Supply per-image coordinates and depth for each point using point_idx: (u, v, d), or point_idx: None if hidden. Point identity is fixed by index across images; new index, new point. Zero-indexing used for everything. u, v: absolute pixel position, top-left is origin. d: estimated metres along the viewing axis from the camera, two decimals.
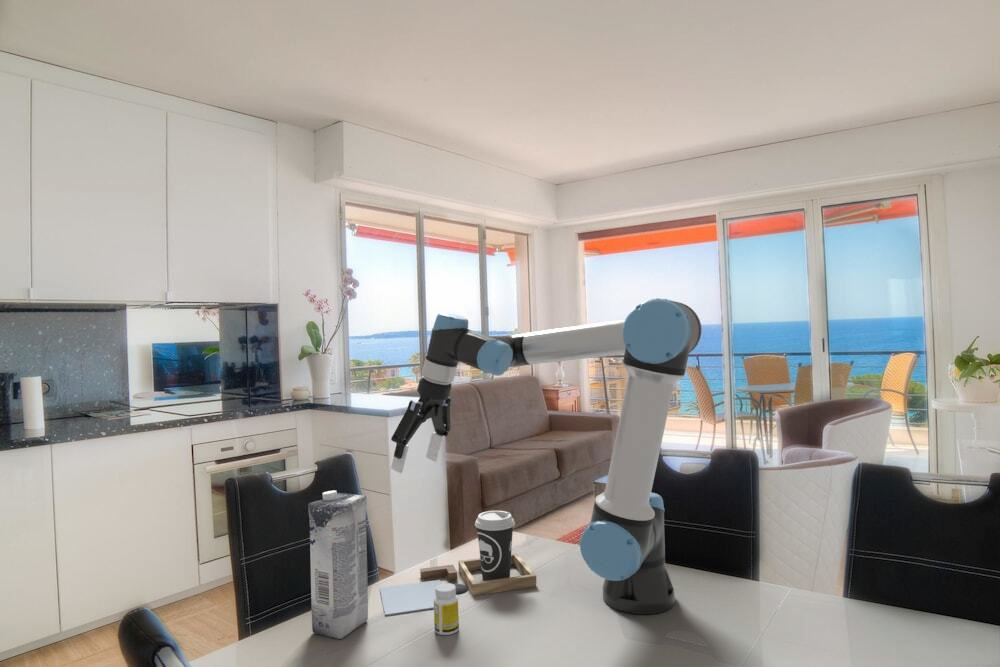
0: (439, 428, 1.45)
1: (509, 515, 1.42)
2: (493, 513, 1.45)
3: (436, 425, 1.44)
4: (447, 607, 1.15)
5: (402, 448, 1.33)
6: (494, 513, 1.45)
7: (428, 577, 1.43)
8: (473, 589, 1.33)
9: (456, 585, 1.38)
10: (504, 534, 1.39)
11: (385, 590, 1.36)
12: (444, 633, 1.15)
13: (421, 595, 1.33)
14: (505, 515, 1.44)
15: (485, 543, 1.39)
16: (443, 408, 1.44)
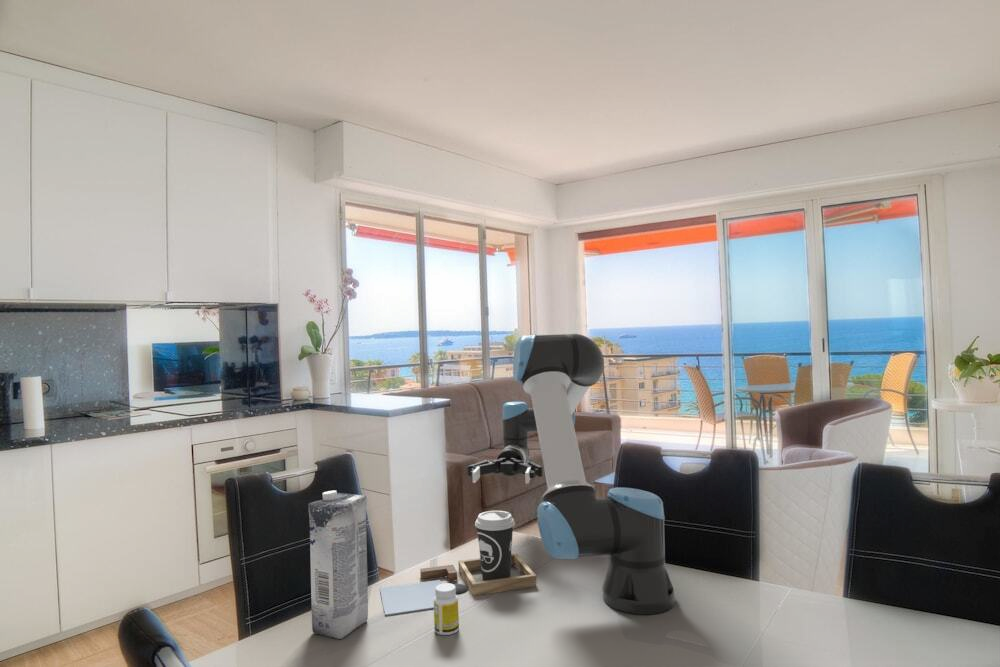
0: (526, 468, 1.60)
1: (509, 515, 1.42)
2: (493, 513, 1.45)
3: (525, 470, 1.60)
4: (447, 607, 1.15)
5: (474, 469, 1.59)
6: (494, 513, 1.45)
7: (428, 577, 1.43)
8: (473, 589, 1.33)
9: (456, 585, 1.38)
10: (504, 534, 1.39)
11: (385, 590, 1.36)
12: (444, 633, 1.15)
13: (421, 595, 1.33)
14: (505, 515, 1.44)
15: (485, 543, 1.39)
16: (529, 466, 1.64)
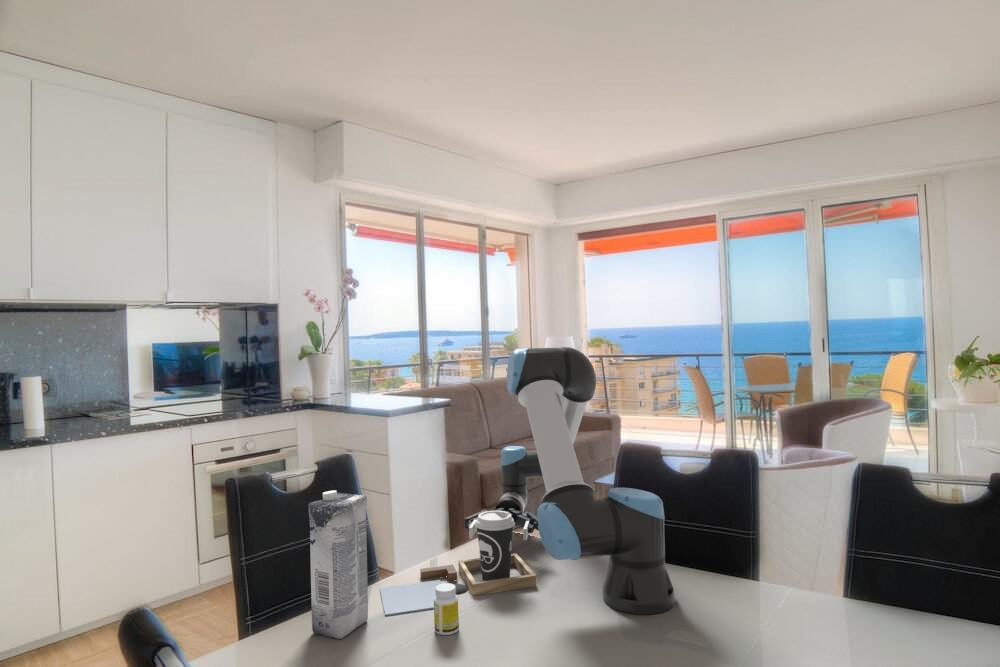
0: (525, 521, 1.55)
1: (509, 515, 1.42)
2: (493, 513, 1.45)
3: (523, 523, 1.56)
4: (447, 607, 1.15)
5: (471, 522, 1.55)
6: (494, 513, 1.45)
7: (428, 577, 1.43)
8: (473, 589, 1.33)
9: (456, 585, 1.38)
10: (504, 534, 1.39)
11: (385, 590, 1.36)
12: (444, 633, 1.15)
13: (421, 595, 1.33)
14: (505, 515, 1.44)
15: (485, 543, 1.39)
16: (528, 517, 1.60)
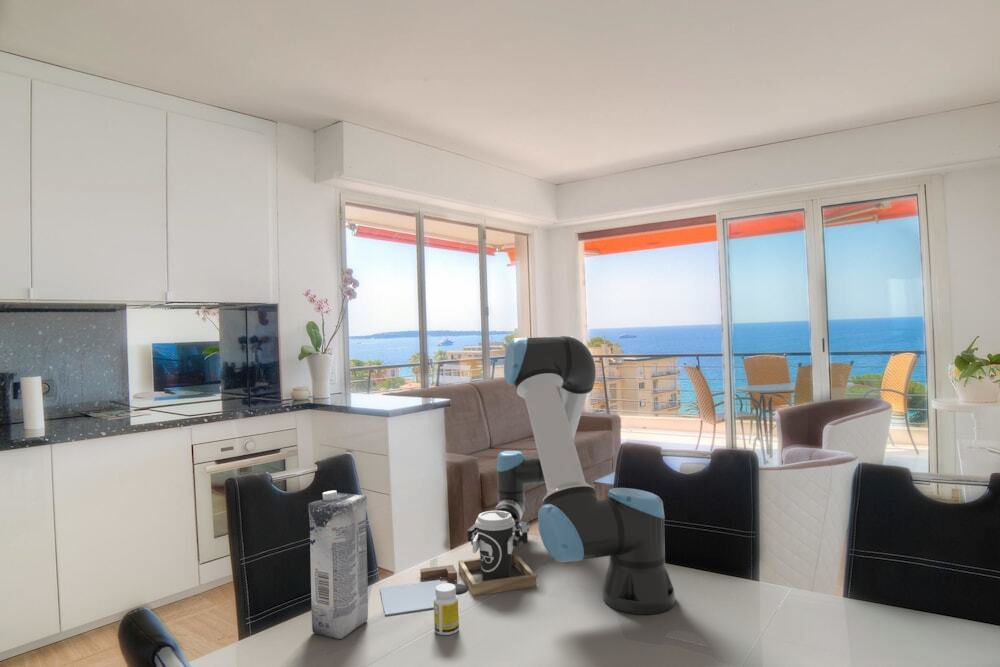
0: None
1: (509, 515, 1.42)
2: (493, 513, 1.45)
3: None
4: (447, 607, 1.15)
5: (474, 535, 1.44)
6: (494, 513, 1.45)
7: (428, 577, 1.43)
8: (473, 589, 1.33)
9: (456, 585, 1.38)
10: (504, 534, 1.39)
11: (385, 590, 1.36)
12: (444, 633, 1.15)
13: (421, 595, 1.33)
14: (505, 515, 1.44)
15: (485, 543, 1.39)
16: (522, 528, 1.51)
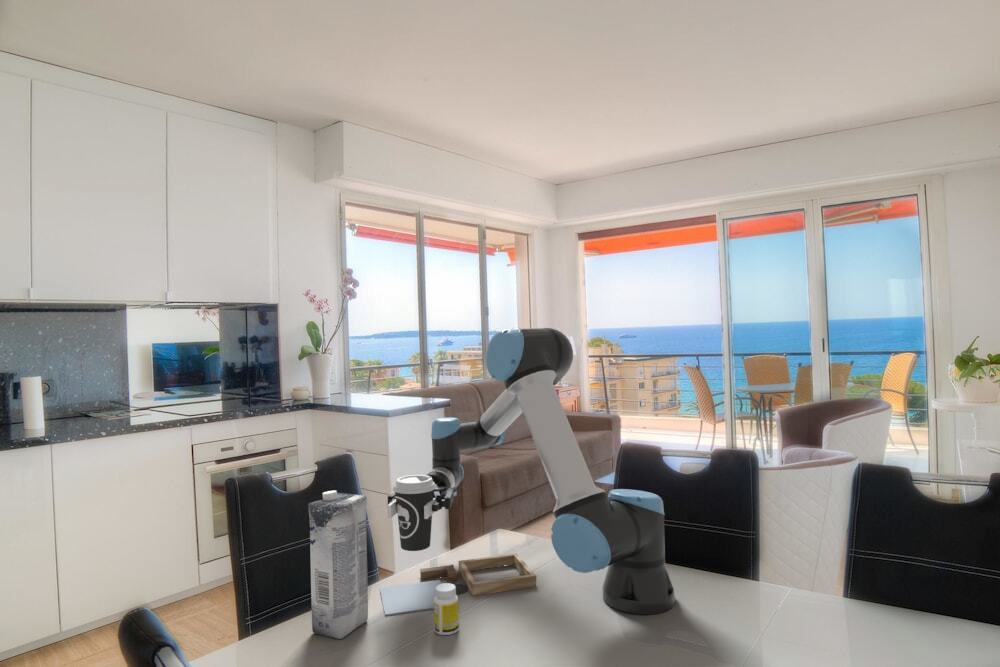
0: None
1: (429, 479, 1.34)
2: (414, 477, 1.37)
3: None
4: (447, 607, 1.15)
5: (394, 500, 1.36)
6: (415, 477, 1.37)
7: (428, 577, 1.43)
8: (473, 589, 1.33)
9: (456, 585, 1.38)
10: (422, 498, 1.30)
11: (385, 590, 1.36)
12: (444, 633, 1.15)
13: (421, 595, 1.33)
14: (426, 479, 1.36)
15: (402, 507, 1.31)
16: None
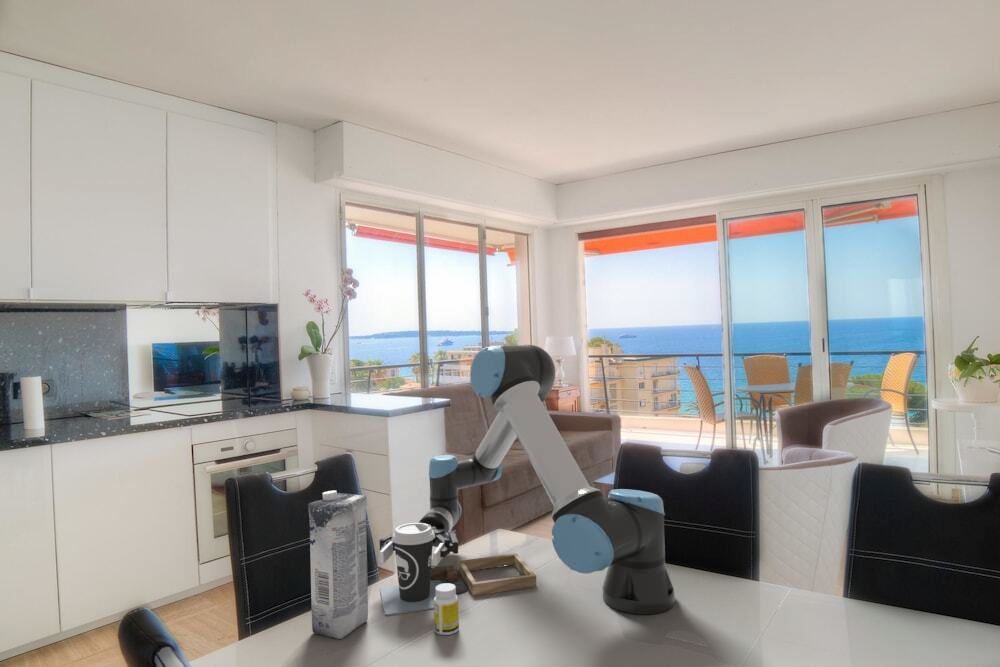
0: (441, 542, 1.37)
1: (428, 528, 1.33)
2: (413, 525, 1.36)
3: None
4: (447, 607, 1.15)
5: (386, 545, 1.36)
6: (414, 525, 1.36)
7: None
8: (473, 589, 1.33)
9: (456, 585, 1.38)
10: (421, 548, 1.30)
11: (385, 590, 1.36)
12: (444, 633, 1.15)
13: None
14: (425, 528, 1.35)
15: (401, 558, 1.30)
16: (449, 537, 1.42)
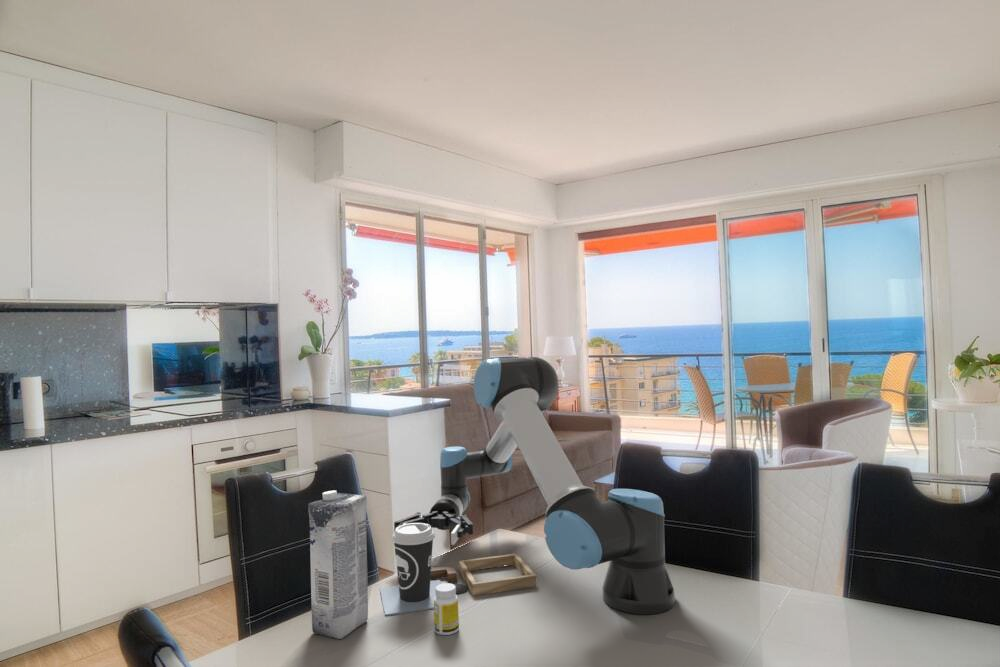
0: (456, 525, 1.49)
1: (428, 528, 1.33)
2: (413, 526, 1.36)
3: None
4: (447, 607, 1.15)
5: None
6: (414, 526, 1.36)
7: None
8: (473, 589, 1.33)
9: (456, 585, 1.38)
10: (421, 548, 1.30)
11: (385, 590, 1.36)
12: (444, 633, 1.15)
13: None
14: (425, 528, 1.35)
15: (401, 558, 1.30)
16: (461, 521, 1.54)
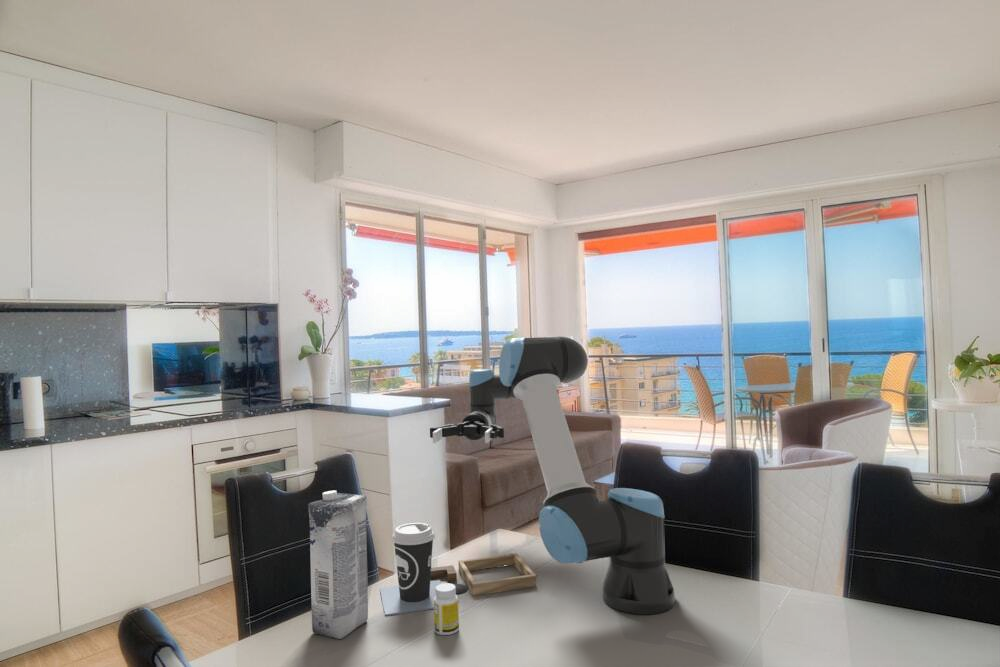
0: (488, 430, 1.60)
1: (428, 528, 1.33)
2: (413, 526, 1.36)
3: None
4: (447, 607, 1.15)
5: None
6: (414, 526, 1.36)
7: None
8: (473, 589, 1.33)
9: (456, 585, 1.38)
10: (421, 548, 1.30)
11: (385, 590, 1.36)
12: (444, 633, 1.15)
13: None
14: (425, 528, 1.35)
15: (401, 558, 1.30)
16: None
